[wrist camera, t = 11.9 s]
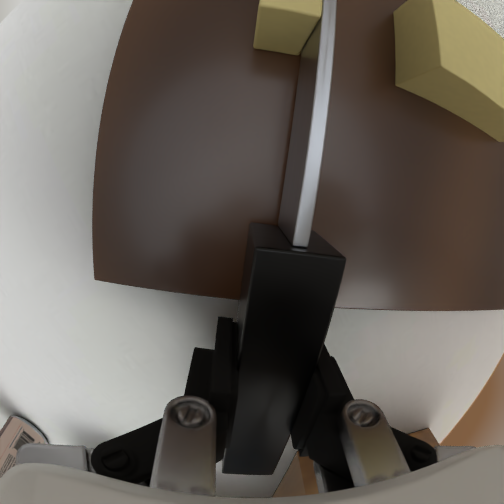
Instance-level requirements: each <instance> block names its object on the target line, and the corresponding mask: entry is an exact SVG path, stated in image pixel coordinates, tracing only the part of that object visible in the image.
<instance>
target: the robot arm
mask: <svg viewBox="0 0 504 504" xmlns="http://www.w3.org/2000/svg"><path fill="white" fill-rule="evenodd" d="M237 400H238V370H237V322H233V318H226V317H218V325H217V333H216V341H215V350H212V349H204V348H196V347H195V348H194V352H193V356H192V361H191V365H190V370H189V375H188V379H187V384H186V389H185V394H184V396H180V397H177V398H175V399H173V400H171V401H170V402H169V403H168V404H167V406H166V408H165V410H164V415H163V418H161V419H159V420H157V421H155V422H152V423H150V424H148V425H146V426H143V427H141V428H139V429H136V430H134V431H131V432H129V433H126V434H124V435H121V436H119V437H116V438H114V439H111V440H108V441H105V442H103V443H101V444H99V445H98V446H97V447H96V448H95V449H86V447H85V446H71V445H51V444H39V443H26V444H24V445H22V446H21V447H20V448H19V449H18V450H17V454H16V466H14V467H12V468H10V469H9V470H8V471H7V472H6V473H5V474H4V475H3V476H2V477H1V478H0V504H504V446H502V445H494V446H484V447H479V448H476V447H472V446H435V447H434V448H433V447H432V446H431V445H430V444H428V443H427V442H425V441H422V440H420V439H417V438H415V437H413V436H410V435H408V434H406V433H403V432H401V431H399V430H396V429H394V428H392V427H390V426H389V424H388V422H387V420H386V418H385V416H384V414H383V412H382V410H381V409H380V408H379V407H378V406H377V405H376V404H374V403H372V402H370V401H367V400H362V399H356V400H354V399H353V396H352V394H351V392H350V390H349V388H348V386H347V383H346V381H345V379H344V377H343V375H342V373H341V371H340V368H339V366H338V364H337V362H336V360H335V358H334V357H332V356H330V355H329V353H328V351H327V349H326V347H325V345H324V344H323V347H322V351H321V354H320V357H319V360H318V363H317V366H316V369H315V372H314V374H313V375H312V378H311V381H310V384H309V387H308V389H307V392H306V395H305V397H304V400H303V403H302V405H301V408H300V411H299V413H298V416H297V418H296V421H295V423H294V426H293V428H292V431H291V439H292V444H293V448H294V449H295V450H297V449H298V451H299V456H300V457H307V456H309V458H310V459H311V460H313V461H314V462H313V467H314V472H315V477H316V482H317V487H318V492H319V494H312V495H303V496H292V497H275V498H232V497H216V495H215V482H216V463H217V462H219V461H220V460H222V459H223V458H224V452H225V449H230V443H231V437H232V431H233V425H234V419H235V413H236V407H237Z"/></svg>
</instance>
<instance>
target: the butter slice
mask: <svg viewBox="0 0 504 504" xmlns="http://www.w3.org/2000/svg"><path fill="white" fill-rule="evenodd" d="M321 14H322V0H260V1H259V7H258V14H257V22H256V29H255V37H254V44H253V47H254V48H255V49H262V50H269V51H275V52H281V53H286V54H292V55H299V54H300V52H301V51H302V49H303V47H304V45H305V43H306V42H307V40H308V38H309V37H310V35H311V33H312V31H313V30H314V28H315V26H316V24H317V23H318V21H319V19H320V18H321Z"/></svg>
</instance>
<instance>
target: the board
mask: <svg viewBox="0 0 504 504" xmlns="http://www.w3.org/2000/svg"><path fill="white" fill-rule="evenodd" d="M259 1H260V0H133V2H132V5H131V7H130V10H129V13H128V15H127V18H126V21H125V24H124V27H123V30H122V33H121V36H120V39H119V42H118V46H117V49H116V53H115V56H114V60H113V64H112V68H111V72H110V76H109V80H108V84H107V89H106V94H105V99H104V104H103V109H102V115H101V121H100V128H99V135H98V142H97V151H96V161H95V172H94V187H93V215H92V237H93V264H94V279H95V280H99V281H104V282H110V283H116V284H122V285H129V286H135V287H142V288H148V289H155V290H162V291H169V292H177V293H184V294H192V295H200V296H208V297H217V298H226V299H235V300H240V292H241V285H242V277H243V270H244V262H245V255H246V247H247V240H248V232H249V225H250V223H252V222H253V223H261V224H269V225H276V226H278V220H279V213H280V207H281V200H282V194H283V187H284V180H285V173H286V166H287V159H288V152H289V145H290V138H291V131H292V123H293V116H294V108H295V100H296V92H297V85H298V76H299V68H300V60H301V52H300V54H299V55H292V54H286V53H281V52H275V51H269V50H262V49H255V48H254V47H253V44H254V37H255V29H256V22H257V14H258V7H259ZM406 1H407V0H337V11H336V31H335V47H334V61H333V73H332V83H331V94H330V103H329V112H328V121H327V129H326V137H325V145H324V152H323V159H322V166H321V173H320V179H319V186H318V192H317V198H316V204H315V210H314V216H313V222H312V227H311V230H313V231H315V232H316V233H318V234H319V235H320V236H321V237H322V238H324V239H325V240H326V241H327V242H328V243H329V244H331V245H332V246H333V247H334V248H335V249H336V250H338V251H339V252H340V253H341V254H342V255H343V256H344V257H346V264H345V268H344V272H343V277H342V281H341V285H340V288H339V292H338V296H337V300H336V303H335V307H334V308H350V309H372V310H406V311H474V310H504V142H498V141H497V140H496V139H494V138H493V137H491V136H490V135H488V134H487V133H485V132H484V131H482V130H481V129H479V128H477V127H476V126H474V125H473V124H471V123H469V122H468V121H466V120H464V119H463V118H461V117H459V116H457V115H456V114H454V113H452V112H450V111H448V110H447V109H445V108H443V107H441V106H439V105H437V104H435V103H433V102H431V101H429V100H427V99H425V98H423V97H421V96H418V95H416V94H414V93H412V92H409V91H407V90H405V89H402V88H400V87H398V86H396V85H395V71H396V60H395V29H394V15H393V12H394V11H395V10H397V9H398V8H399V7H400V6H401V5H402V4H404V3H405V2H406Z"/></svg>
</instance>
